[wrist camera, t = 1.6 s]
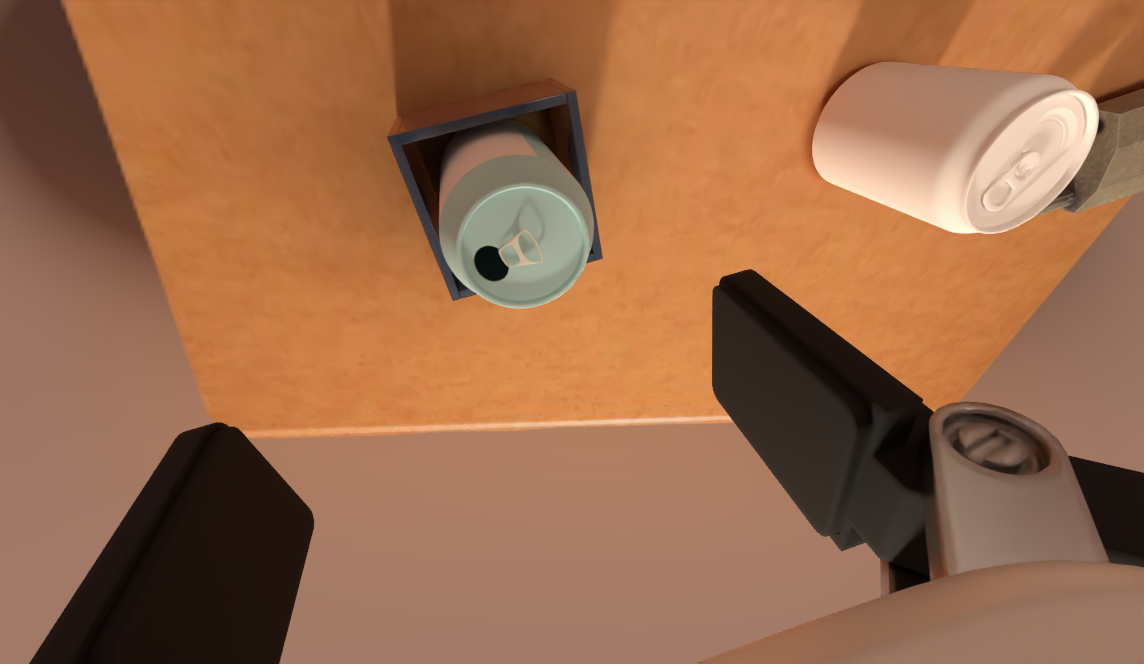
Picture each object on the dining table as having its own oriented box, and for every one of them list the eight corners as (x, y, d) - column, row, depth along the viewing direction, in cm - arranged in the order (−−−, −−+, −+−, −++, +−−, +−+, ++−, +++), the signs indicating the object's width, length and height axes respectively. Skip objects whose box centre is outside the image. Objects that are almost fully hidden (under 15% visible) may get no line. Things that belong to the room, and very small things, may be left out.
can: (522, 244, 32) (557, 339, 22) (423, 201, 29) (413, 290, 19) (570, 150, 29) (634, 212, 20) (467, 91, 26) (482, 130, 16)
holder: (397, 115, 26) (386, 136, 21) (551, 78, 27) (575, 89, 22) (451, 258, 31) (453, 301, 26) (578, 223, 32) (603, 259, 27)
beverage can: (929, 101, 33) (1129, 132, 24) (848, 200, 36) (996, 264, 27) (868, 34, 30) (1076, 38, 20) (784, 150, 33) (929, 203, 23)
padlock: (1243, 78, 33) (1043, 147, 33) (1180, 185, 38) (1006, 243, 38) (1176, 71, 36) (993, 134, 36) (1125, 170, 41) (965, 224, 41)
